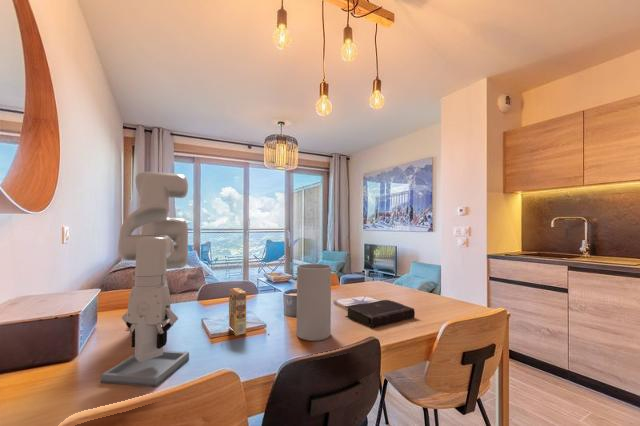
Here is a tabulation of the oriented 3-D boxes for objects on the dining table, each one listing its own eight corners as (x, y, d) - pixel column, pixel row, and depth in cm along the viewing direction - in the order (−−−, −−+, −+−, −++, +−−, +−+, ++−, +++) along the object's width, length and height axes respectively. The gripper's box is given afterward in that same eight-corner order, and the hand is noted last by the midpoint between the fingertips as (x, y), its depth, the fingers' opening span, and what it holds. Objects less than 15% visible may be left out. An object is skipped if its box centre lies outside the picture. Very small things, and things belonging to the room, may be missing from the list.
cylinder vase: (334, 331, 112) (335, 264, 113) (324, 344, 100) (324, 269, 101) (304, 327, 116) (304, 263, 117) (290, 338, 104) (291, 267, 105)
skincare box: (157, 351, 85) (158, 308, 86) (163, 355, 82) (164, 311, 83) (133, 358, 81) (134, 313, 81) (139, 363, 78) (140, 317, 78)
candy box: (246, 333, 108) (247, 291, 109) (235, 336, 106) (235, 293, 107) (238, 326, 116) (239, 287, 116) (227, 328, 113) (228, 288, 114)
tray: (100, 382, 75) (100, 374, 75) (142, 356, 90) (142, 349, 90) (156, 386, 73) (156, 378, 73) (189, 358, 88) (189, 352, 88)
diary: (415, 319, 128) (415, 308, 128) (372, 331, 115) (373, 318, 115) (384, 308, 144) (384, 298, 144) (343, 317, 130) (343, 305, 130)
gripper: (111, 282, 80) (109, 350, 79) (172, 284, 78) (170, 353, 77) (132, 277, 87) (130, 339, 86) (187, 279, 85) (186, 342, 85)
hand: (149, 345), depth 82 cm, fingers closed on skincare box, 6 cm apart
